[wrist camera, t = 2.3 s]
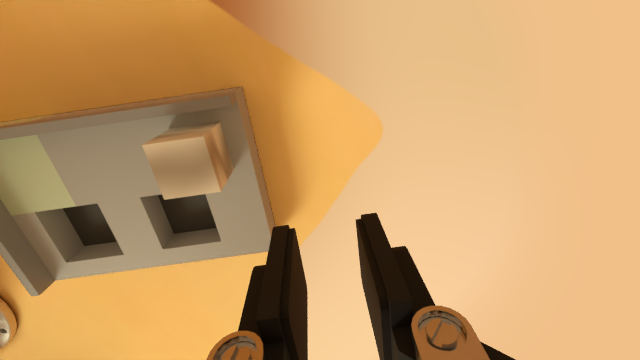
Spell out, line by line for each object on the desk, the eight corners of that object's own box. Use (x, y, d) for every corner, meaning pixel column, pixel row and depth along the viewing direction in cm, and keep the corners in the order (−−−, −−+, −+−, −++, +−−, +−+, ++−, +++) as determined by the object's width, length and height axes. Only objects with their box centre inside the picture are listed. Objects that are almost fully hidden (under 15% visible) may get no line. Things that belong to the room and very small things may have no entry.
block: (233, 169, 26) (221, 191, 22) (185, 176, 26) (164, 199, 22) (220, 121, 25) (203, 136, 21) (168, 129, 25) (142, 145, 21)
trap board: (277, 233, 33) (272, 263, 28) (68, 262, 33) (31, 296, 29) (242, 86, 26) (228, 95, 22) (-18, 124, 27) (-84, 141, 22)
